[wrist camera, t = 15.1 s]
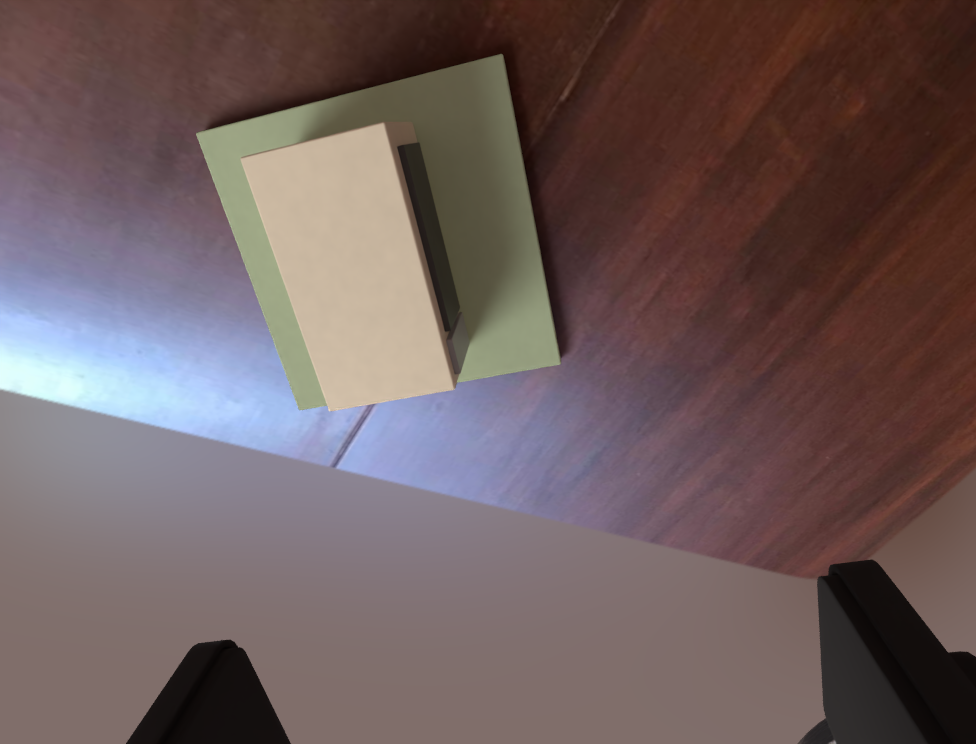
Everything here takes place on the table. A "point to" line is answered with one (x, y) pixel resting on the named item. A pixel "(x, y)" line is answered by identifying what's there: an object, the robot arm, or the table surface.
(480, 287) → the mat
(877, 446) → the table surface
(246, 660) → the robot arm
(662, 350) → the table surface
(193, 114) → the table surface
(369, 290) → the toy oven
